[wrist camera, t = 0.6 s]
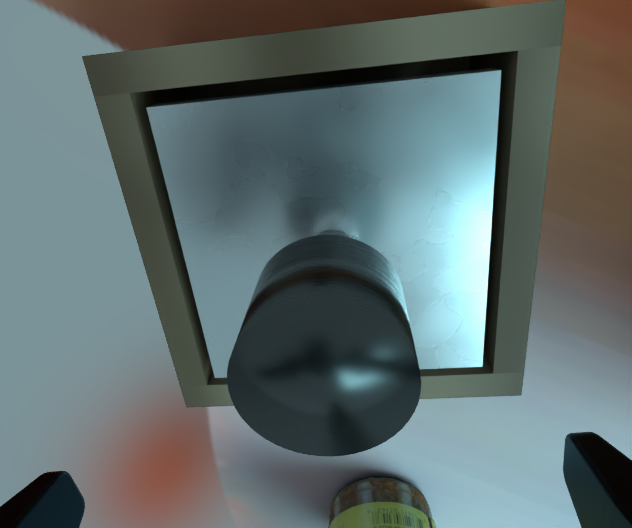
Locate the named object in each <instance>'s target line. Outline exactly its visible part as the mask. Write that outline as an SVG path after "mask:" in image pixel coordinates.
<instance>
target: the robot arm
mask: <svg viewBox="0 0 632 528" xmlns="http://www.w3.org/2000/svg"><path fill="white" fill-rule="evenodd" d="M563 473H564V478H565V482H566V485H567V488H568V491H569V493H570V496H571V499H572V502H573V505H574V508H575V510H576V513H577V516H578V519H579V522H580V524H581V527H582V528H632V460H630V459H629V458H628V457H626V456H625V455H624V454H623V453H621V452H620V451H619V450H617V449H616V448H615V447H613V446H612V445H611V444H609V443H608V442H607V441H605V440H604V439H603V438H601V437H600V436H599V435H597V434H595V433H593V432H581V433H570V434H568V435H567V436H566V439H565V448H564V462H563ZM84 508H85V502H84V498H83V496H82V494H81V493H80V491H79V489H78V487H77V486H76V484H75V483H74V481H73V479H72V477H71V475H70V474H69V473H68V472H66V471H56V472H47V473H44V474H42V475H40V476H39V477H38V478H36V479H35V480H34V481H33V482H31V483H30V484H29V485H28V486H26V487H25V488H24V489H23V490H21V491H20V492H19V493H17V494H16V495H15V496H14V497H12V498H11V499H10V500H9V501H7V502H6V503H5V504H3V505H2V506H1V507H0V528H79V526H80V523H81V520H82V517H83V513H84Z"/></svg>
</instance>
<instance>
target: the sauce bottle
mask: <svg viewBox="0 0 632 528" xmlns="http://www.w3.org/2000/svg"><path fill="white" fill-rule="evenodd" d="M328 528H436V525H435V522H434V520H433V519H432V515H431V512H430V508H429V505H428V503H427V501H426V499H425V497H424V496H423V494H422V493H421V491H419V490H418V489H416V488H415V487H413V486H412V485H410V484H409V483H405V482H402V481H398V480H396V479H393V478H383V477H382V478H374V477H371V478H367V479H364V480H359V481H357V482H355V483H353V484H351V485H348V486H347V487H345V488H343V489H342V490H341V491H340V492H338V494H337V495H336V497H335V498H334V501H333V503H332V505H331V508H330V522H329V527H328Z"/></svg>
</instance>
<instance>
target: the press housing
mask: <svg viewBox="0 0 632 528" xmlns="http://www.w3.org/2000/svg"><path fill="white" fill-rule="evenodd" d="M565 6H566V0H552V1H543V2H535V3H527V4H518V5H510V6H501V7H493V8H485V9H476V10H468V11H459V12H451V13H443V14H434V15H426V16H417V17H409V18H401V19H392V20H384V21H375V22H367V23H359V24H350V25H342V26H333V27H325V28H316V29H308V30H300V31H291V32H283V33H274V34H266V35H258V36H249V37H241V38H232V39H224V40H216V41H207V42H199V43H190V44H182V45H174V46H165V47H157V48H148V49H140V50H132V51H123V52H115V53H106V54H98V55H90V56H83V57H82V58H83V61H84V65H85V68H86V71H87V75H88V78H89V81H90V84H91V88H92V91H93V95H94V98H95V102H96V105H97V108H98V112H99V115H100V118H101V122H102V125H103V128H104V132H105V135H106V138H107V142H108V145H109V148H110V152H111V155H112V159H113V162H114V165H115V169H116V172H117V175H118V179H119V182H120V186H121V188H122V192H123V196H124V199H125V202H126V206H127V209H128V212H129V216H130V219H131V222H132V226H133V229H134V232H135V236H136V239H137V243H138V245H139V249H140V252H141V256H142V259H143V263H144V266H145V270H146V273H147V276H148V279H149V283H150V286H151V290H152V293H153V296H154V300H155V303H156V306H157V310H158V313H159V316H160V320H161V323H162V327H163V330H164V333H165V337H166V340H167V343H168V347H169V350H170V353H171V357H172V360H173V363H174V367H175V370H176V374H177V377H178V380H179V384H180V387H181V390H182V394H183V397H184V400H185V404H186V407H211V406H234V404H233V402H232V400H231V397H230V394H229V391H228V385H227V378H215V377H214V373H213V369H212V365H211V361H210V357H209V353H208V349H207V345H206V341H205V337H204V333H203V329H202V325H201V321H200V317H199V314H198V310H197V306H196V302H195V298H194V294H193V290H192V286H191V282H190V278H189V274H188V270H187V266H186V262H185V258H184V254H183V250H182V246H181V243H180V239H179V235H178V231H177V227H176V223H175V219H174V215H173V211H172V207H171V203H170V199H169V195H168V191H167V187H166V183H165V179H164V175H163V172H162V168H161V164H160V160H159V156H158V152H157V148H156V144H155V140H154V136H153V132H152V128H151V124H150V120H149V116H148V112H147V107H149V106H152V105H155V104H158V103H167V102H177V101H186V100H195V99H205V98H214V97H224V96H233V95H243V94H252V93H261V92H271V91H280V90H290V89H299V88H309V87H318V86H327V85H337V84H346V83H356V82H365V81H374V80H384V79H393V78H403V77H412V76H422V75H431V74H440V73H450V72H459V71H469V70H478V69H488V68H495V69H499V70H501V84H500V100H499V115H498V131H497V147H496V162H495V178H494V193H493V209H492V225H491V240H490V256H489V272H488V287H487V303H486V318H485V334H484V350H483V365H482V367H463V368H439V369H420V374H421V393H420V397H419V399H434V398H462V397H489V396H517V395H521V393H522V385H523V376H524V367H525V358H526V349H527V341H528V332H529V323H530V314H531V305H532V297H533V288H534V279H535V270H536V261H537V253H538V244H539V235H540V226H541V217H542V209H543V200H544V191H545V182H546V173H547V165H548V156H549V147H550V138H551V129H552V121H553V112H554V103H555V94H556V85H557V77H558V68H559V59H560V50H561V41H562V33H563V24H564V15H565Z"/></svg>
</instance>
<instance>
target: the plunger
mask: <svg viewBox="0 0 632 528" xmlns="http://www.w3.org/2000/svg"><path fill="white" fill-rule="evenodd" d="M500 84H501V70H499V69H495V68H488V69H478V70H469V71H459V72H450V73H440V74H431V75H422V76H412V77H403V78H393V79H384V80H374V81H365V82H356V83H346V84H337V85H327V86H318V87H309V88H299V89H290V90H280V91H271V92H261V93H252V94H243V95H233V96H224V97H214V98H205V99H195V100H186V101H177V102H167V103H158V104H155V105H152V106H149V107H147V112H148V116H149V120H150V124H151V128H152V132H153V136H154V140H155V144H156V148H157V152H158V156H159V160H160V164H161V168H162V172H163V175H164V179H165V183H166V187H167V191H168V195H169V199H170V203H171V207H172V211H173V215H174V219H175V223H176V227H177V231H178V235H179V239H180V243H181V246H182V250H183V254H184V258H185V262H186V266H187V270H188V274H189V278H190V282H191V286H192V290H193V294H194V298H195V302H196V306H197V310H198V314H199V317H200V321H201V325H202V329H203V333H204V337H205V341H206V345H207V349H208V353H209V357H210V361H211V365H212V369H213V373H214V377H215V378H227V385H228V391H229V394H230V397H231V400H232V402H233V404H234V406H235V408H236V410H237V411H238V413H239V414H240V416H241V417H242V419H243V420H244V421H245V422H246V423H247V424H248V425H249V426H250V427H251V428H252V429H253V430H254V431H256V432H257V433H258V434H259V435H261V436H262V437H264V438H265V439H267V440H269V441H271V442H272V443H274V444H276V445H278V446H281V447H283V448H285V449H288V450H292V451H295V452H298V453H303V454H308V455H316V456H342V455H349V454H354V453H358V452H362V451H365V450H368V449H371V448H373V447H376V446H378V445H379V444H381V443H383V442H385V441H387V440H388V439H390V438H391V437H393V436H394V435H395V434H396V433H397V432H399V431H400V430H401V429H402V428H403V427H404V426H405V424H406V423H407V422H408V421H409V419H410V418H411V416H412V415H413V413H414V411H415V409H416V407H417V404H418V401H419V397H420V393H421V374H420V369H439V368H463V367H482V365H483V350H484V334H485V318H486V303H487V287H488V272H489V256H490V240H491V225H492V209H493V193H494V178H495V162H496V147H497V131H498V115H499V100H500Z"/></svg>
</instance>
